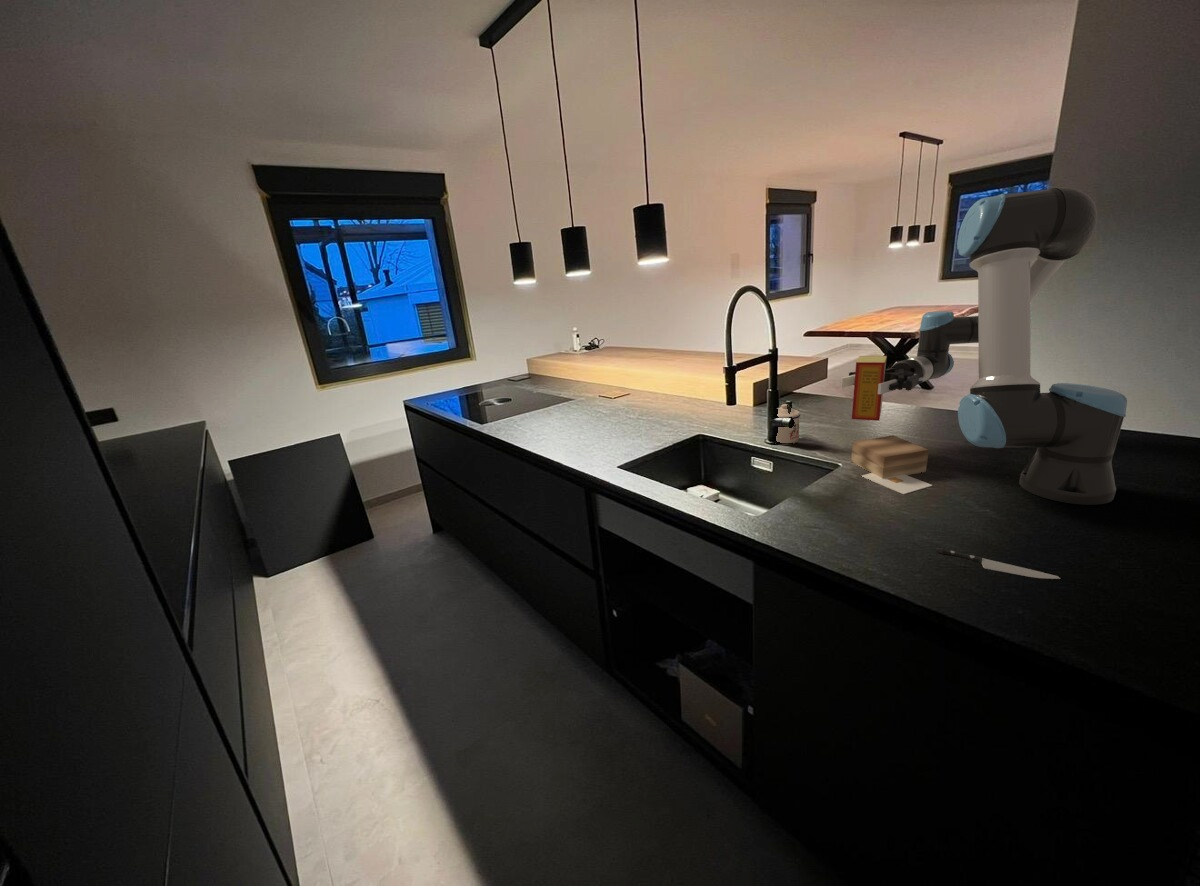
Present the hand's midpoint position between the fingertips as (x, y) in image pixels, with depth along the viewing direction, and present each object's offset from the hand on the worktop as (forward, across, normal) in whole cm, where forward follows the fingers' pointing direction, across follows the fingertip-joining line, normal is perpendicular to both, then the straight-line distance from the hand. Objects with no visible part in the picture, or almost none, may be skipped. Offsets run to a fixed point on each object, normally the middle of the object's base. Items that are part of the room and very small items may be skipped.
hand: (859, 386), depth 127 cm
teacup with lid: (+3, +22, -20) cm, 30 cm away
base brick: (+1, -10, -20) cm, 23 cm away
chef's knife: (+27, -48, -21) cm, 59 cm away
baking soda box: (-4, 0, -9) cm, 10 cm away
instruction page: (+8, -17, -20) cm, 27 cm away
